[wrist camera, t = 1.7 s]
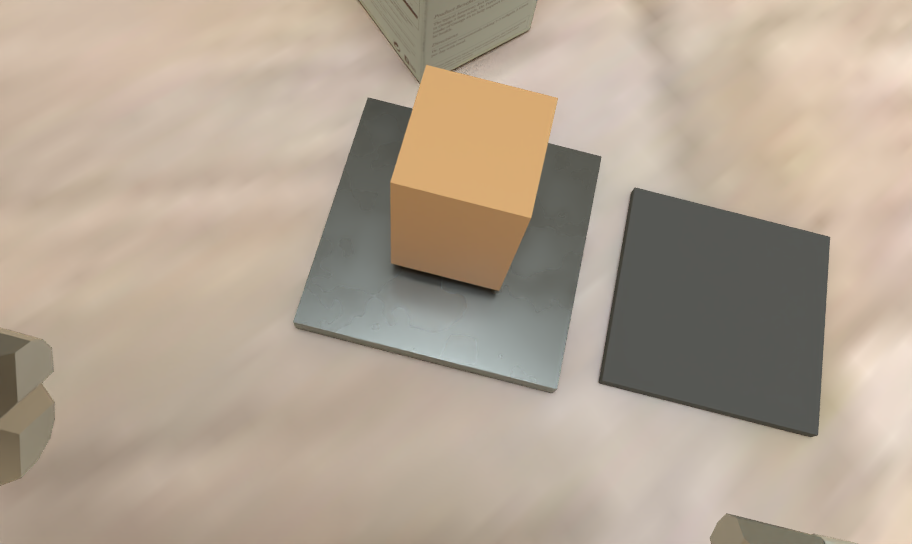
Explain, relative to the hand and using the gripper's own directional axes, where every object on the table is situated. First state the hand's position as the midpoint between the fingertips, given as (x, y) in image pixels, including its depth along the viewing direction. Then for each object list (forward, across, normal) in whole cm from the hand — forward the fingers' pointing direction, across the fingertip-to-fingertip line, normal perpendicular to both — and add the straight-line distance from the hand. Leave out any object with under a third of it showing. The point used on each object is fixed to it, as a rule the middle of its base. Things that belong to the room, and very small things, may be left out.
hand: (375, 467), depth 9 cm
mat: (+26, -12, +8) cm, 30 cm away
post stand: (+26, +1, +7) cm, 27 cm away
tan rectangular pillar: (+24, +1, +6) cm, 25 cm away
